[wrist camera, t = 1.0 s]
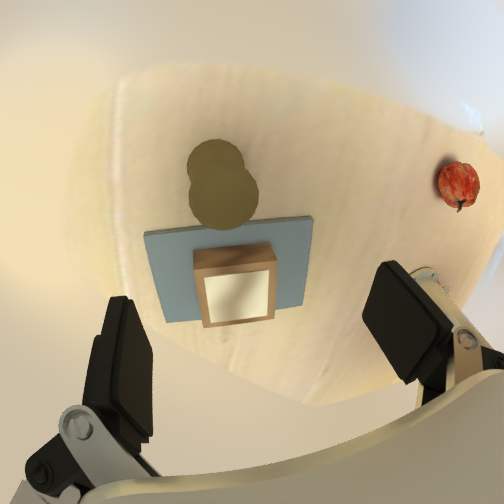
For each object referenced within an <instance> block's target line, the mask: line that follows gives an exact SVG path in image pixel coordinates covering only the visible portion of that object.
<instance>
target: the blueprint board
mask: <svg viewBox="0 0 504 504" xmlns="http://www.w3.org/2000/svg"><path fill="white" fill-rule="evenodd" d="M312 229H313V218H312V217H311V216H306V217H292V218H279V219H267V220H256V221H247V222H246V223H244V224H243V225H242V226H240V227H238V228H235V229H232V230H224V231H219V230H214V229H210V228H208V227H207V226H205V225H204V226H194V227H185V228H176V229H168V230H159V231H151V232H145V233H144V236H143V237H144V241H145V246H146V250H147V254H148V259H149V263H150V267H151V271H152V274H153V278H154V282H155V286H156V289H157V293H158V296H159V300H160V303H161V307H162V310H163V313H164V317H165V320H166V323H171V322H181V321H192V320H201V319H202V317H201V311H200V306H199V300H198V295H197V289H196V283H195V277H194V270H193V250H197V249H207V248H216V247H225V246H235V245H244V244H254V243H264V242H269V243H270V245H271V247H272V249H273V251H274V254H275V256H276V258H277V260H278V266H277V283H276V299H275V310H277V309H284V308H290V307H296V306H302V304H303V298H304V291H305V284H306V277H307V270H308V262H309V254H310V246H311V238H312Z"/></svg>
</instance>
